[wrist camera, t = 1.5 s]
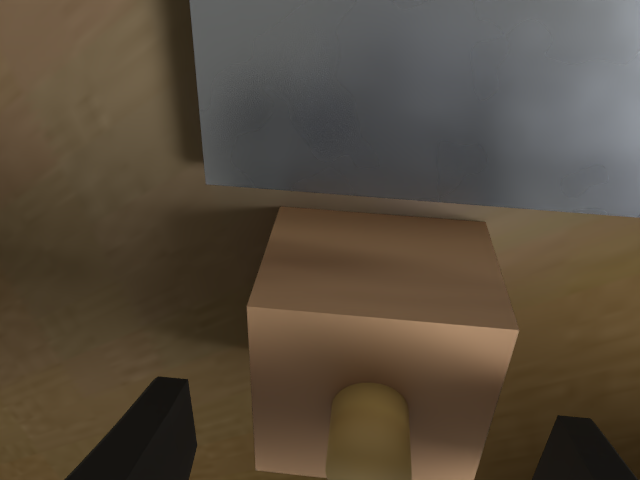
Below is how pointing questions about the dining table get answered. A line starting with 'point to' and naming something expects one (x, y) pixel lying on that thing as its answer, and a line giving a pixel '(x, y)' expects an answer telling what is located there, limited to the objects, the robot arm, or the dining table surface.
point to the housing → (376, 346)
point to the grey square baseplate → (425, 100)
